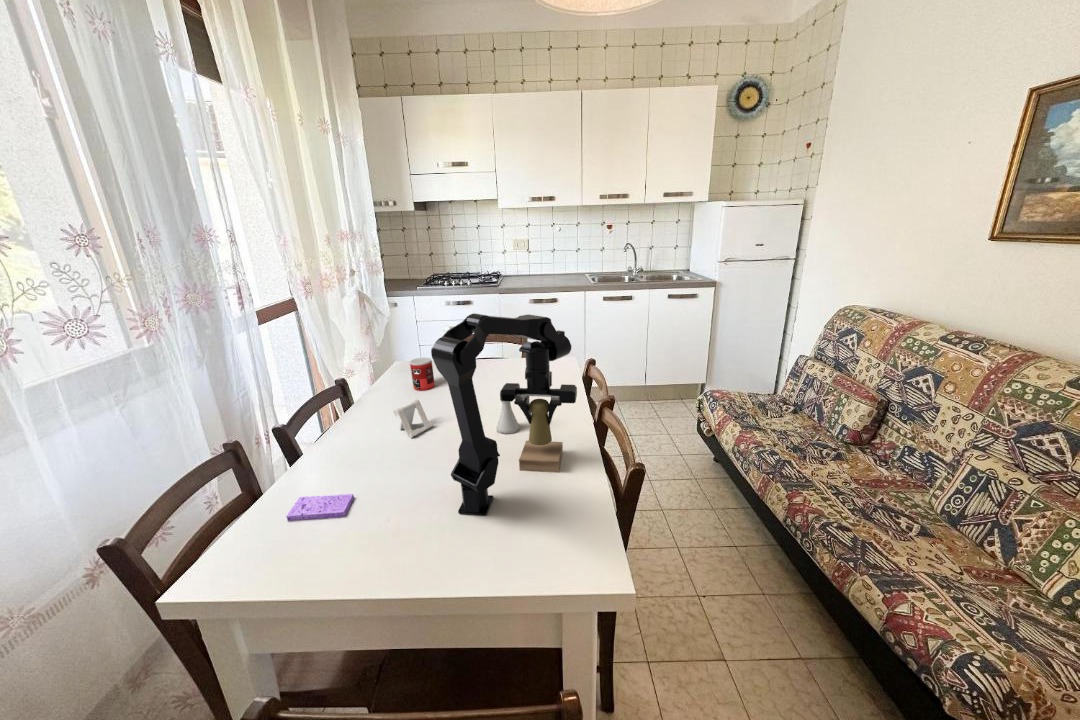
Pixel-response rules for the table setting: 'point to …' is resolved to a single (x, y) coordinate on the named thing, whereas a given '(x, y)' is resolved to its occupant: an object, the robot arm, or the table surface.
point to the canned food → (422, 374)
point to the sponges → (320, 507)
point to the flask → (507, 419)
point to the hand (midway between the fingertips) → (540, 423)
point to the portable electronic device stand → (407, 417)
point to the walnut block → (541, 457)
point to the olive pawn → (539, 422)
